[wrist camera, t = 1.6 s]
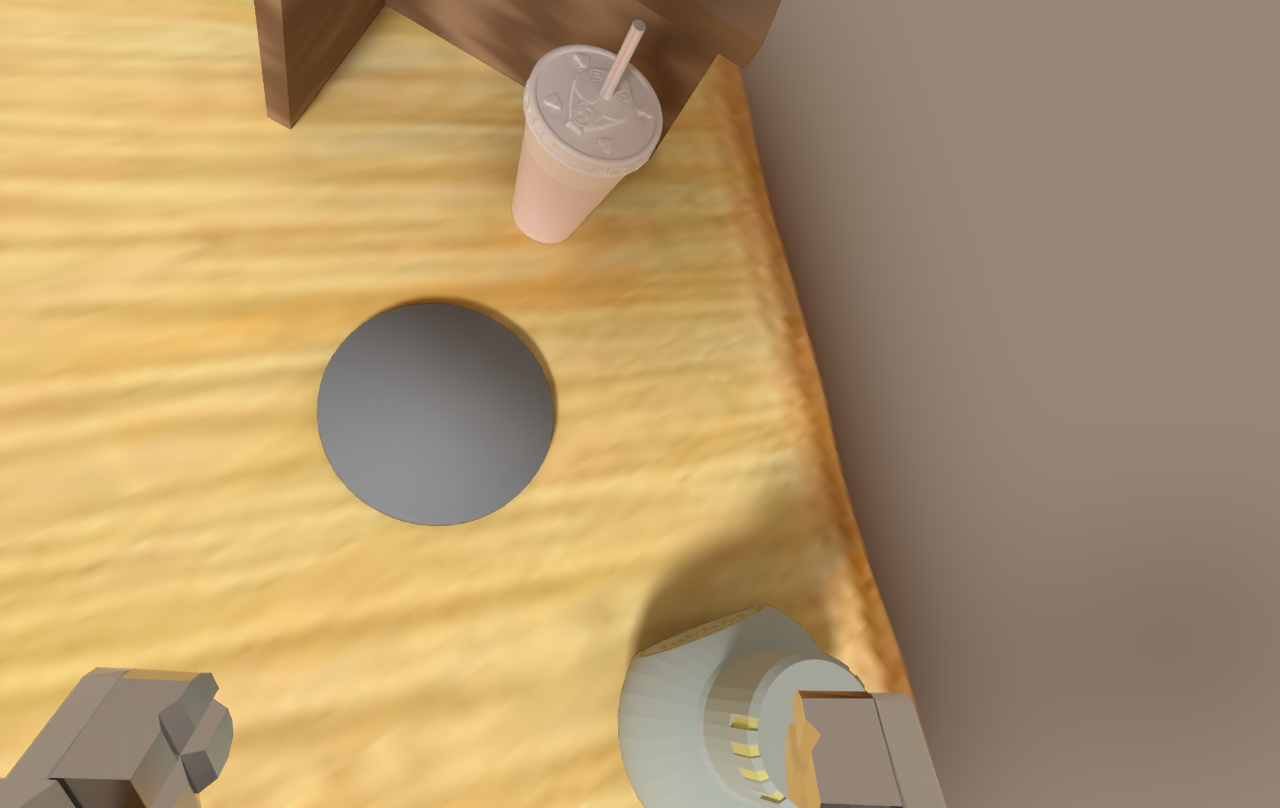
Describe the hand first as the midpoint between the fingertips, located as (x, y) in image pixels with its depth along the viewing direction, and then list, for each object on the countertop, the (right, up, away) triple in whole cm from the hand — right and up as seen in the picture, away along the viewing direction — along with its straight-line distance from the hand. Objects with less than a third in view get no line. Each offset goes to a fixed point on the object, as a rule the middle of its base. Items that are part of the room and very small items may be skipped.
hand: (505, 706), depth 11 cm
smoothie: (-4, +15, +32) cm, 35 cm away
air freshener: (+5, -11, +27) cm, 30 cm away
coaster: (-8, +4, +27) cm, 28 cm away
